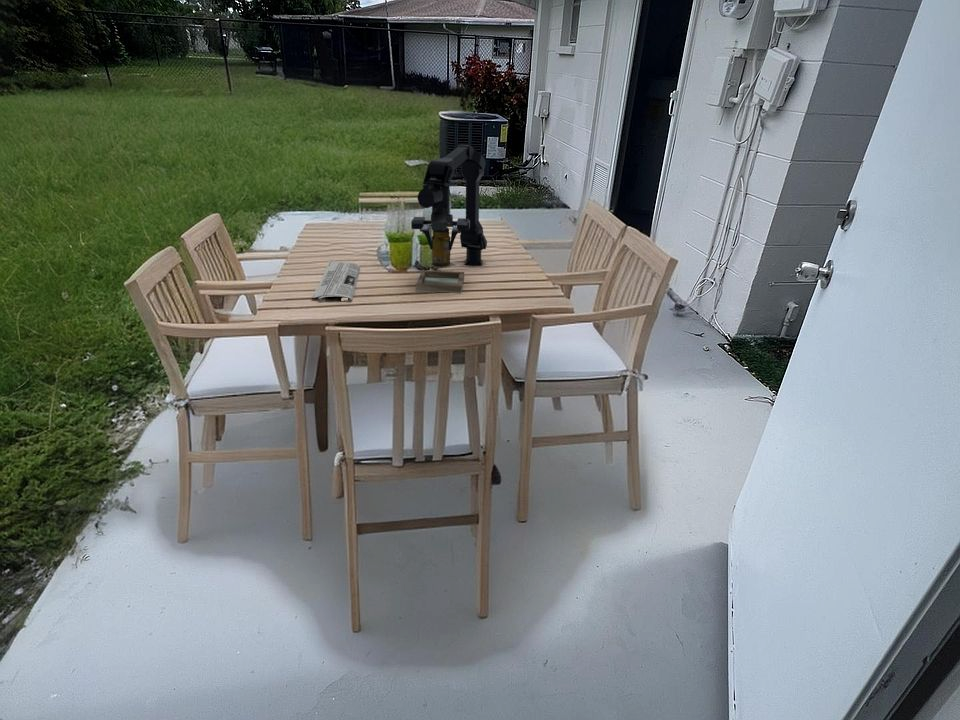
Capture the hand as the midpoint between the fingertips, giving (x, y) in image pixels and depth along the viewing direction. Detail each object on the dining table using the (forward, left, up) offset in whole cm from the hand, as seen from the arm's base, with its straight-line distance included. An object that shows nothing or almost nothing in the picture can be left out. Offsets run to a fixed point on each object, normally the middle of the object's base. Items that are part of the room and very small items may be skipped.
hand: (441, 249), depth 189 cm
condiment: (0, 0, -5) cm, 5 cm away
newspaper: (+2, -35, -13) cm, 38 cm away
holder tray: (0, 0, -12) cm, 12 cm away
